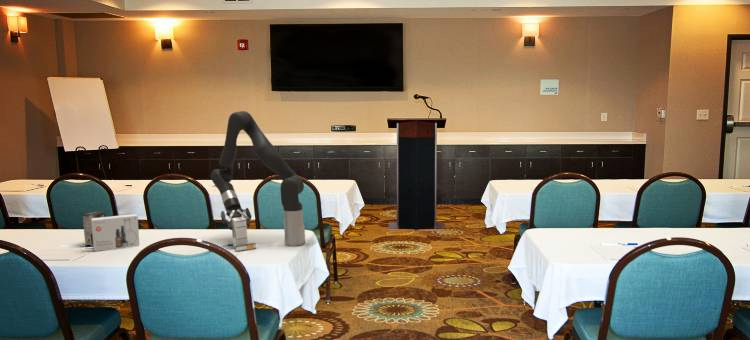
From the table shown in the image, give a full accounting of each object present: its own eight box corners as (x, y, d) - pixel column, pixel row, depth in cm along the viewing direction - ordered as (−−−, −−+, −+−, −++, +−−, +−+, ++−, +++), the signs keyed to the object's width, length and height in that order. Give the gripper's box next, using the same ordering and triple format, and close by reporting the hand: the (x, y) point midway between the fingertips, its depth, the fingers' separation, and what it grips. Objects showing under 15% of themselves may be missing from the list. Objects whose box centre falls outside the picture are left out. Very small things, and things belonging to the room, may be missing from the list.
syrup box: (248, 247, 292) (246, 218, 290) (236, 249, 289) (235, 220, 287) (244, 245, 297) (242, 216, 295) (232, 247, 293) (230, 218, 292)
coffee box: (101, 241, 313) (98, 211, 311) (108, 242, 310) (105, 212, 308) (84, 245, 306) (81, 214, 304) (91, 246, 302) (88, 215, 300)
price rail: (254, 247, 291) (254, 242, 291) (256, 248, 289) (256, 243, 289) (234, 251, 286) (234, 246, 285) (236, 252, 284) (236, 247, 284)
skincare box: (94, 252, 291) (91, 220, 289) (93, 249, 296) (90, 218, 294) (140, 246, 301) (137, 215, 299) (138, 243, 306) (136, 213, 304)
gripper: (218, 198, 293) (227, 225, 285) (246, 195, 300) (256, 221, 292) (215, 207, 298) (224, 234, 290) (242, 204, 306) (252, 230, 297)
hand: (240, 227), depth 291 cm, fingers open, 8 cm apart
